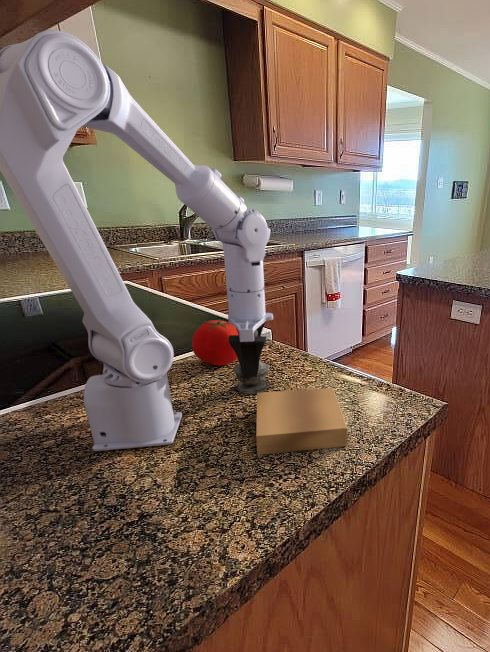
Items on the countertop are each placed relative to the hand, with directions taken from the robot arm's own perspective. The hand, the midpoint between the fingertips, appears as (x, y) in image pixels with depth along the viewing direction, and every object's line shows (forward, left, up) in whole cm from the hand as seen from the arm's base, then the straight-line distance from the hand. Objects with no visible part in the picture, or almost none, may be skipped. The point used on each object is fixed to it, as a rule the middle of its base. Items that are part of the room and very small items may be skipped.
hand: (251, 366), depth 68 cm
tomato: (-6, +12, -4) cm, 14 cm away
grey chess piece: (0, 0, -4) cm, 4 cm away
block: (+7, -14, -4) cm, 16 cm away
